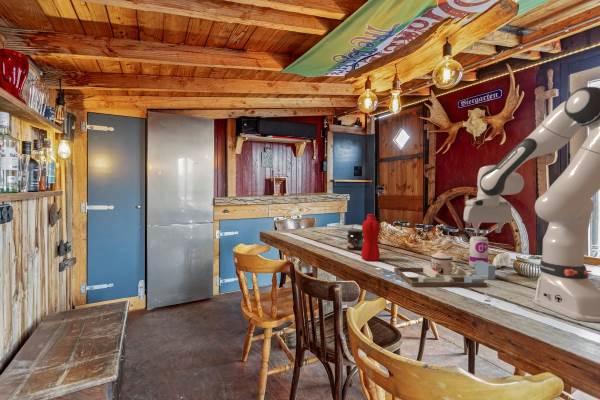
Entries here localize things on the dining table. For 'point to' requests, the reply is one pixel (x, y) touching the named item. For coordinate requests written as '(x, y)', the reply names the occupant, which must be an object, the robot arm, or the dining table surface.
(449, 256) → the teacup with lid
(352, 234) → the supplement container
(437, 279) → the broken carriage
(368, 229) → the water bottle
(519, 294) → the dining table surface
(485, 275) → the carriage
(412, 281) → the lane rails
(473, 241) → the supplement can
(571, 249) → the robot arm
